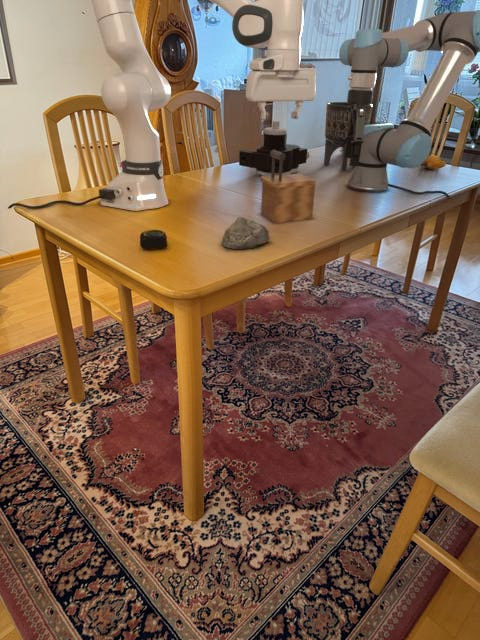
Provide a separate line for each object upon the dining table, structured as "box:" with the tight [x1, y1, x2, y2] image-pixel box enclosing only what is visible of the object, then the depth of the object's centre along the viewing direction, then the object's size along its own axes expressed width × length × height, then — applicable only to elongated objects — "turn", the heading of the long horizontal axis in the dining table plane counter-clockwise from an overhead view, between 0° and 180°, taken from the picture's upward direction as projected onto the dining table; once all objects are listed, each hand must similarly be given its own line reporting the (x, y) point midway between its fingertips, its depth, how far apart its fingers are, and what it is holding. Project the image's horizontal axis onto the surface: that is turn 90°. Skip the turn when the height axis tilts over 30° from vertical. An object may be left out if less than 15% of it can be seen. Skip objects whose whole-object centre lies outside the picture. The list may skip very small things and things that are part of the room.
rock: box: [221, 216, 270, 250], centre depth 119 cm, size 13×9×6 cm, turn 131°
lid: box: [259, 150, 317, 188], centre depth 136 cm, size 14×10×9 cm
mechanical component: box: [238, 120, 311, 177], centre depth 191 cm, size 22×21×30 cm
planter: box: [323, 101, 374, 172], centre depth 204 cm, size 20×20×26 cm
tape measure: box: [139, 229, 168, 250], centre depth 117 cm, size 7×7×4 cm
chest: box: [260, 181, 316, 224], centre depth 141 cm, size 13×10×11 cm
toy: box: [419, 154, 447, 171], centre depth 211 cm, size 11×6×15 cm
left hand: (279, 119), depth 128 cm, fingers open, 8 cm apart
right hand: (351, 161), depth 148 cm, fingers open, 13 cm apart
